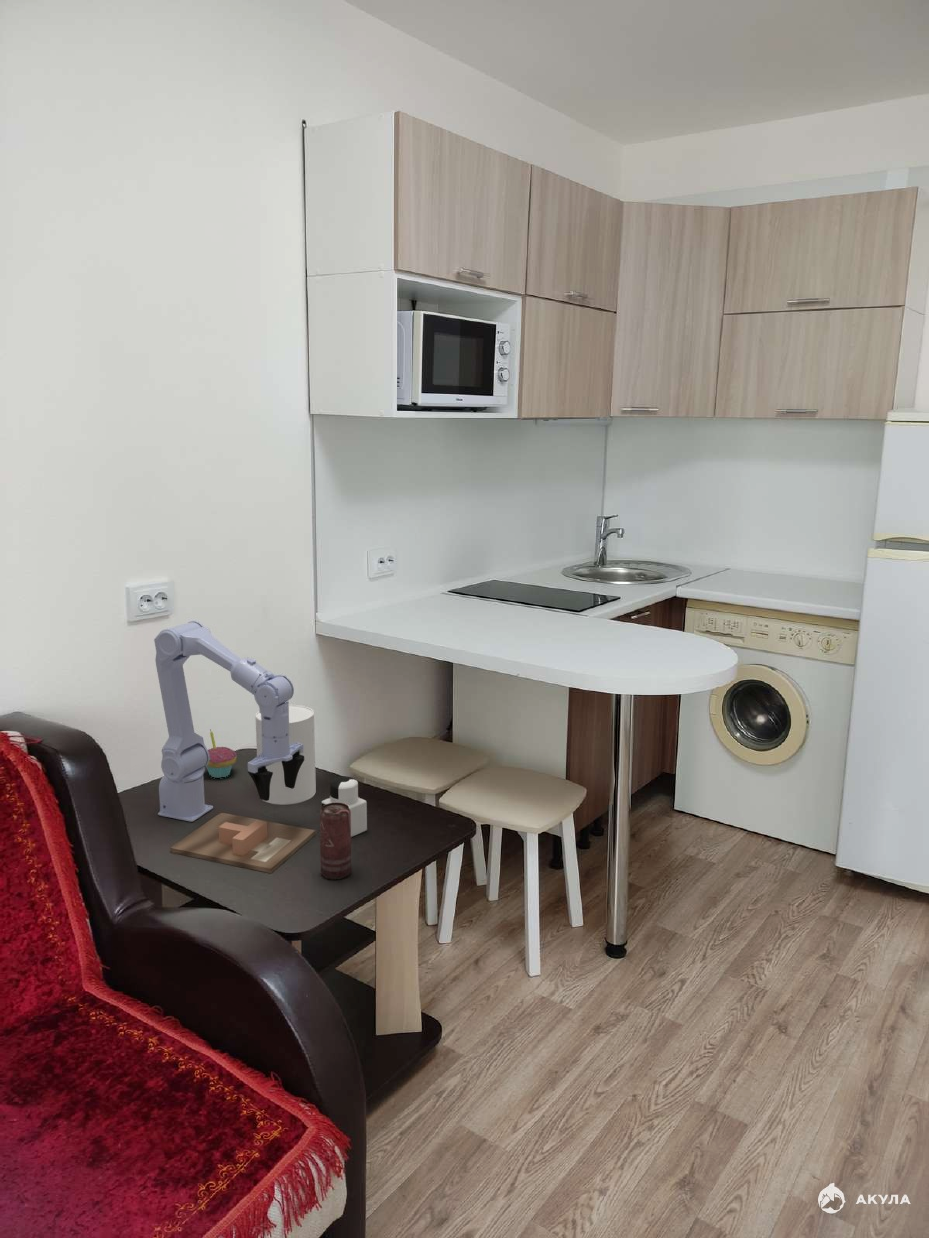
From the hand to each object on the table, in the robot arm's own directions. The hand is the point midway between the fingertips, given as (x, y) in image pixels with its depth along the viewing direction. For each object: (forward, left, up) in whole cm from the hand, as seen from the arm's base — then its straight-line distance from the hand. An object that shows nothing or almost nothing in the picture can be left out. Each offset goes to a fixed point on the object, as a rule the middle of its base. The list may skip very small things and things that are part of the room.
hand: (277, 793), depth 194 cm
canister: (-10, +20, -10) cm, 24 cm away
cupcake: (-31, +23, -10) cm, 39 cm away
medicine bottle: (+12, +7, -10) cm, 17 cm away
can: (+19, -10, -10) cm, 24 cm away
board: (-5, -6, -10) cm, 12 cm away
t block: (-5, -8, -9) cm, 13 cm away
